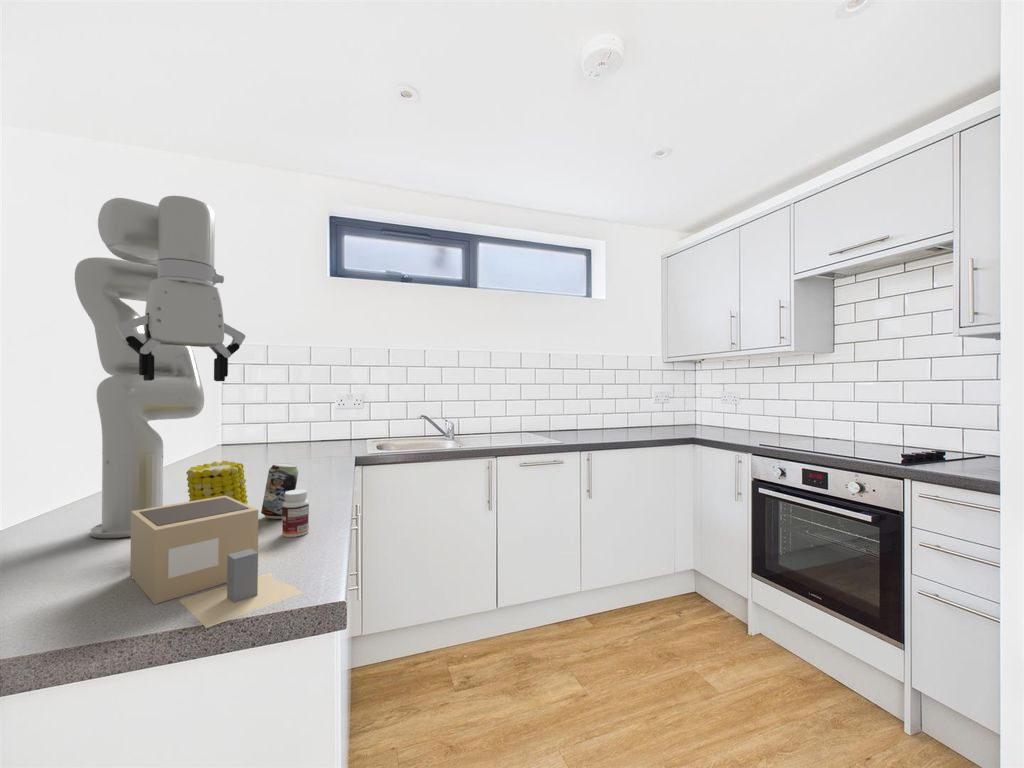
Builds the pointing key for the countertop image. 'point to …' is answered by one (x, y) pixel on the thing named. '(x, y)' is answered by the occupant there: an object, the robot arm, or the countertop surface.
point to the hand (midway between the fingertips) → (185, 380)
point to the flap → (239, 591)
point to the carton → (188, 545)
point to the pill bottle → (295, 513)
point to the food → (217, 481)
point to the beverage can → (278, 488)
